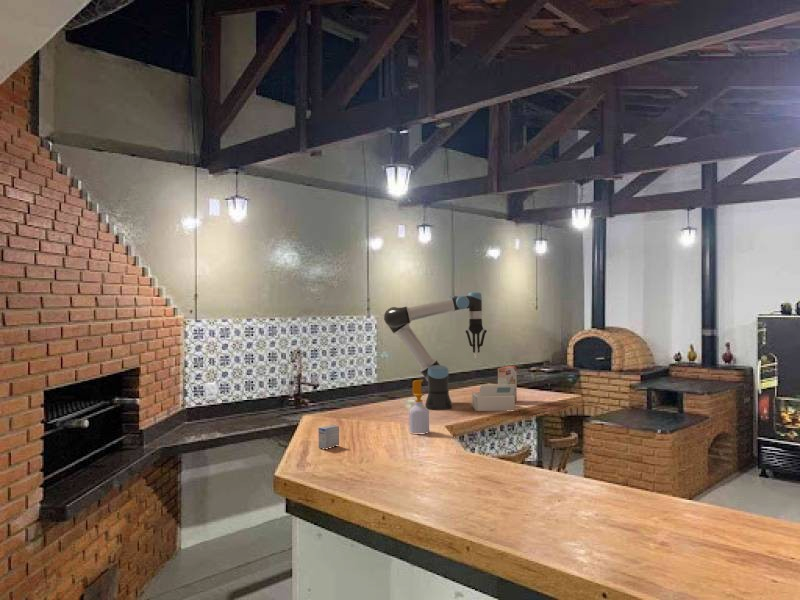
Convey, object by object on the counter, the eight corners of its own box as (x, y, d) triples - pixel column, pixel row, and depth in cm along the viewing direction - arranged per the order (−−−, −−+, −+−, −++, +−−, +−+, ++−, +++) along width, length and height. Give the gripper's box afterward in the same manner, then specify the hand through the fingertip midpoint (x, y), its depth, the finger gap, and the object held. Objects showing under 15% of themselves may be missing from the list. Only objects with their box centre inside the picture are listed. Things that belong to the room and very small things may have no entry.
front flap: (478, 395, 314) (478, 396, 314) (480, 385, 307) (480, 385, 307) (512, 395, 315) (512, 396, 314) (515, 384, 307) (515, 385, 307)
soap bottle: (412, 435, 261) (412, 381, 261) (407, 431, 270) (406, 378, 270) (431, 434, 263) (430, 380, 263) (425, 429, 272) (424, 377, 272)
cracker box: (506, 404, 335) (506, 368, 335) (497, 403, 338) (496, 368, 339) (517, 401, 346) (517, 366, 346) (508, 400, 350) (507, 365, 350)
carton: (476, 411, 315) (476, 396, 315) (472, 406, 331) (471, 392, 332) (515, 410, 315) (515, 396, 315) (509, 405, 332) (508, 391, 332)
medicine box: (332, 444, 246) (331, 424, 246) (339, 446, 243) (339, 425, 243) (318, 448, 240) (318, 427, 240) (325, 450, 237) (325, 429, 237)
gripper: (485, 318, 347) (486, 357, 347) (463, 318, 347) (464, 357, 347) (487, 318, 340) (488, 358, 339) (465, 318, 339) (466, 359, 339)
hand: (476, 358), depth 343 cm, fingers closed
